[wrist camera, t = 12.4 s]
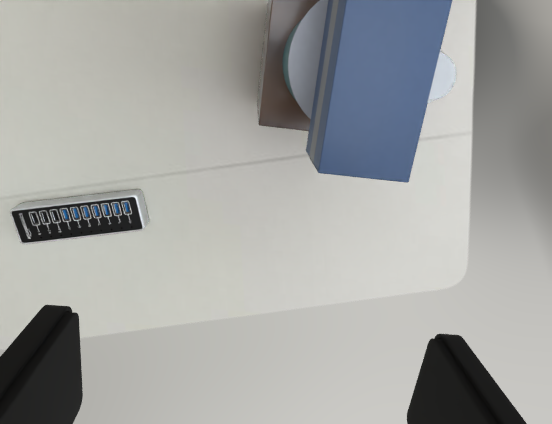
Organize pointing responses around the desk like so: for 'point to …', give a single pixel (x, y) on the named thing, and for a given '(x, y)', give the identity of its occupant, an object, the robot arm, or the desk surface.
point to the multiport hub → (80, 216)
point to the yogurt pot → (305, 56)
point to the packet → (374, 85)
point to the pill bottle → (442, 77)
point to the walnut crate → (280, 67)
